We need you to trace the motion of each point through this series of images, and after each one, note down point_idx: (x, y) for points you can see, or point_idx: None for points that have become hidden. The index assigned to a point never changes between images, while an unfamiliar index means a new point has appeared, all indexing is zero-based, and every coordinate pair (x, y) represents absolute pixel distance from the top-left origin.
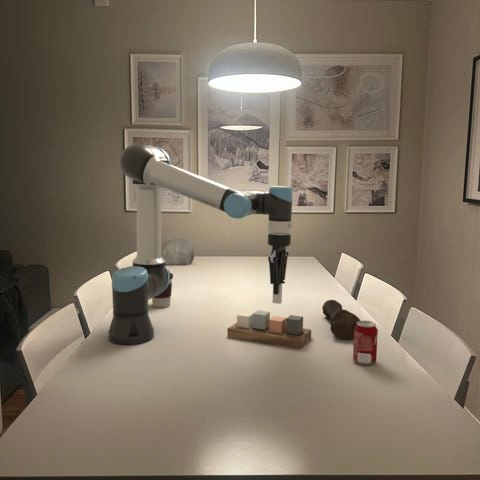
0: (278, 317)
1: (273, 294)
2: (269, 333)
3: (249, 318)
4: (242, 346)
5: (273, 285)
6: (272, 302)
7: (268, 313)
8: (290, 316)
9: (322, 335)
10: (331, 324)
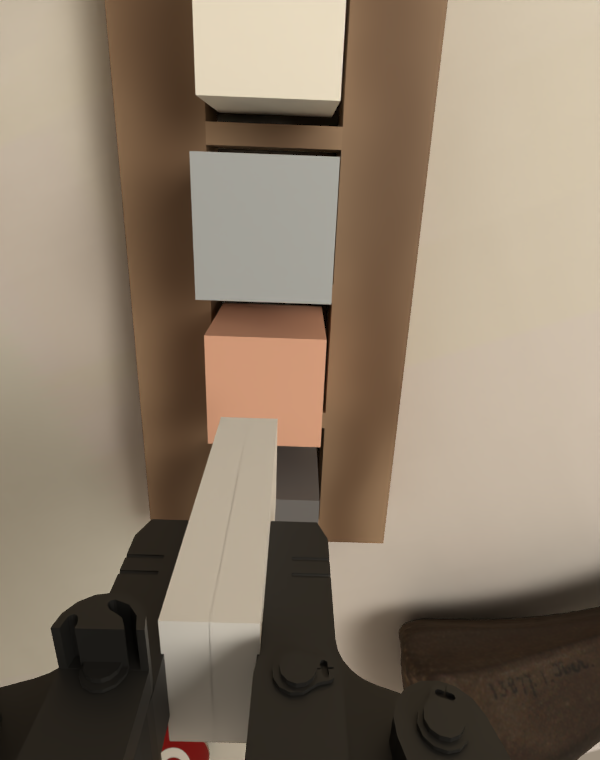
0: (305, 386)
1: (202, 491)
2: (171, 328)
3: (221, 99)
4: (9, 166)
5: (168, 601)
6: (220, 419)
7: (292, 301)
8: (276, 510)
9: (441, 548)
10: (410, 669)
